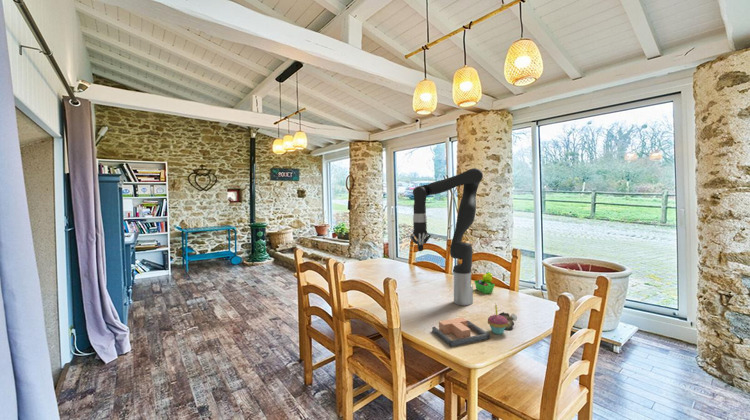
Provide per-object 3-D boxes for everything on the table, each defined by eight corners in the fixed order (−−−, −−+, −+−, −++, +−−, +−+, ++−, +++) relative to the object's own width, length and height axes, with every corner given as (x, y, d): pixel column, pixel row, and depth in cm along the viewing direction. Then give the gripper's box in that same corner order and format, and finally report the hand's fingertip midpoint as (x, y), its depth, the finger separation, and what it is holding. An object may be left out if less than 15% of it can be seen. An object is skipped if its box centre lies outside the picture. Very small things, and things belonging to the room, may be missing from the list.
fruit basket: (473, 288, 199) (473, 270, 198) (486, 287, 201) (486, 269, 200) (484, 294, 188) (483, 275, 187) (497, 293, 190) (497, 274, 189)
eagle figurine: (497, 318, 151) (492, 321, 144) (507, 306, 149) (501, 309, 142) (511, 330, 147) (506, 334, 140) (521, 318, 145) (516, 322, 138)
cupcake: (484, 328, 143) (484, 302, 143) (502, 326, 144) (502, 300, 144) (493, 337, 135) (493, 309, 134) (512, 335, 136) (512, 307, 135)
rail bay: (468, 324, 147) (467, 320, 147) (489, 339, 133) (489, 334, 133) (432, 331, 142) (432, 326, 142) (451, 347, 127) (450, 342, 127)
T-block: (462, 325, 147) (462, 317, 146) (478, 337, 135) (478, 327, 135) (439, 330, 143) (438, 321, 143) (453, 342, 131) (453, 332, 131)
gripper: (427, 219, 190) (427, 248, 191) (406, 221, 186) (407, 250, 187) (433, 221, 183) (433, 251, 184) (412, 222, 179) (412, 253, 180)
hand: (420, 251), depth 185 cm, fingers closed
